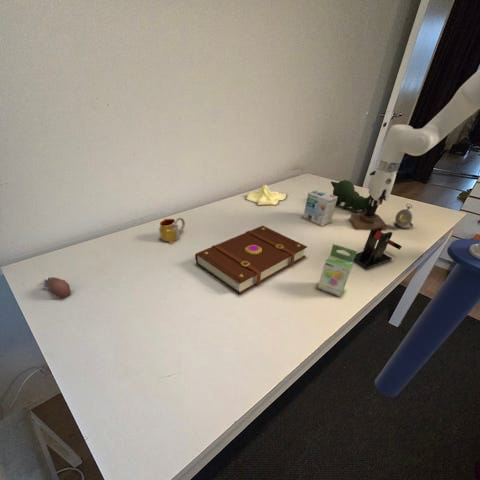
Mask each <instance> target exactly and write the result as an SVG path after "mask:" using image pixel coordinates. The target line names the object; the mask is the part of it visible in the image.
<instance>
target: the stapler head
mask: <svg viewBox="0 0 480 480" xmlns="http://www.w3.org/2000/svg"><path fill="white" fill-rule="evenodd" d="M384 233H385V232H383V231H381V232H380V231H377V232H376V234H375V235H374V236H373V237H374V238H376V239H377V241H379V238H380V236H381V234H384ZM388 245H389V246H391V247H393V248H395V249H397V250H398V251H400V250H401V248H403V246H402V245H401V244H398V243H397V242H395V241H394V240H391V239H390V240H389V242H388Z"/></svg>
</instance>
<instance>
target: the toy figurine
mask: <svg viewBox="0 0 480 480" xmlns="http://www.w3.org/2000/svg"><path fill="white" fill-rule="evenodd" d="M375 172H376V170H373V171H372V172H370V173H369V177H371V176H374V175H375ZM330 184H331V186H332V187H333V190H332V195H334V196H337V197H338V198H337V201H336V205H335V206H339V205H341V203H343V209H345V210H348V209H349V208H352V210H351V211H352V212H353V213H357V212H359V211H361V214H362V213H363V212H366V211H367V208H368V205H369V201H370V195H368V196H367V197H364V196H362V195H360V193H359V192H358V191H357V190H356V189H355V185H354V184H353V182H352V181H350V180H347V179H344V180H341V181H339V182H337V181H332V180H331V181H330Z"/></svg>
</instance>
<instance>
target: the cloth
mask: <svg viewBox="0 0 480 480" xmlns="http://www.w3.org/2000/svg"><path fill="white" fill-rule="evenodd" d="M286 197H287V194H286V193H281V192H278V191H275V190H270V188H269V187H268V185H267V184H263V185H261V188H260V189H259V190H258V191H255V190H253V191H249V192H248V193H247V195H246V198H245V200H248V201H250V202H253V203H257V205H258V206H266V205H267V206H269V205H271V206H272V205H274V206H276V205H278V203H279V201H283V200H285V199H286Z"/></svg>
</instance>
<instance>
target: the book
mask: <svg viewBox="0 0 480 480" xmlns="http://www.w3.org/2000/svg"><path fill="white" fill-rule="evenodd" d="M306 248H308V246H307V245H305V244H303V243H300V242H298V241H296V240H294V239H292V238H290V237H288V236H286V235H284V234H282V233H279V232H277V231H275V230H273V229H272V228H269V227H267V226H264V225H261V226H258V227H256V228H253V229H252V230H248V231H245V232H244V233H241V234H239V235H237V236H234V237H232V238H229V239H227V240H225V241H222V242H220V243H218V244H214V245H212V246H210V247H208V248H206V249H203V250H201V251H199V252H196V253H195V255H194V258H195V259H194V260H195V263H196V264H197V265H198V266H199V267H200V268H202V269H204V270H205V271H206V272H208V273H209V274H211V275H212V276H214V277H215V278H216V279H218V280H219V281H221V282H222V283H223V284H225V285H226V286H228V287H229V288H231V289H232V290H234V291H235V292H236V293H238V294H239V295H242V294H243V293H245V292H247V291H249V290H251V289H252V288H254V287H255V286H256V287H257V286H259V285H260V284H261V283H263V282H264V281H266V280H268V279H270V278H271V277H273V276H275V275H277V274H279V273H280V272H283V270H286V269H287V268H289V267H292V266H294V264H296V263H298V262H300V261H301V260H304V259H305V258H306V255H305V250H306Z"/></svg>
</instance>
